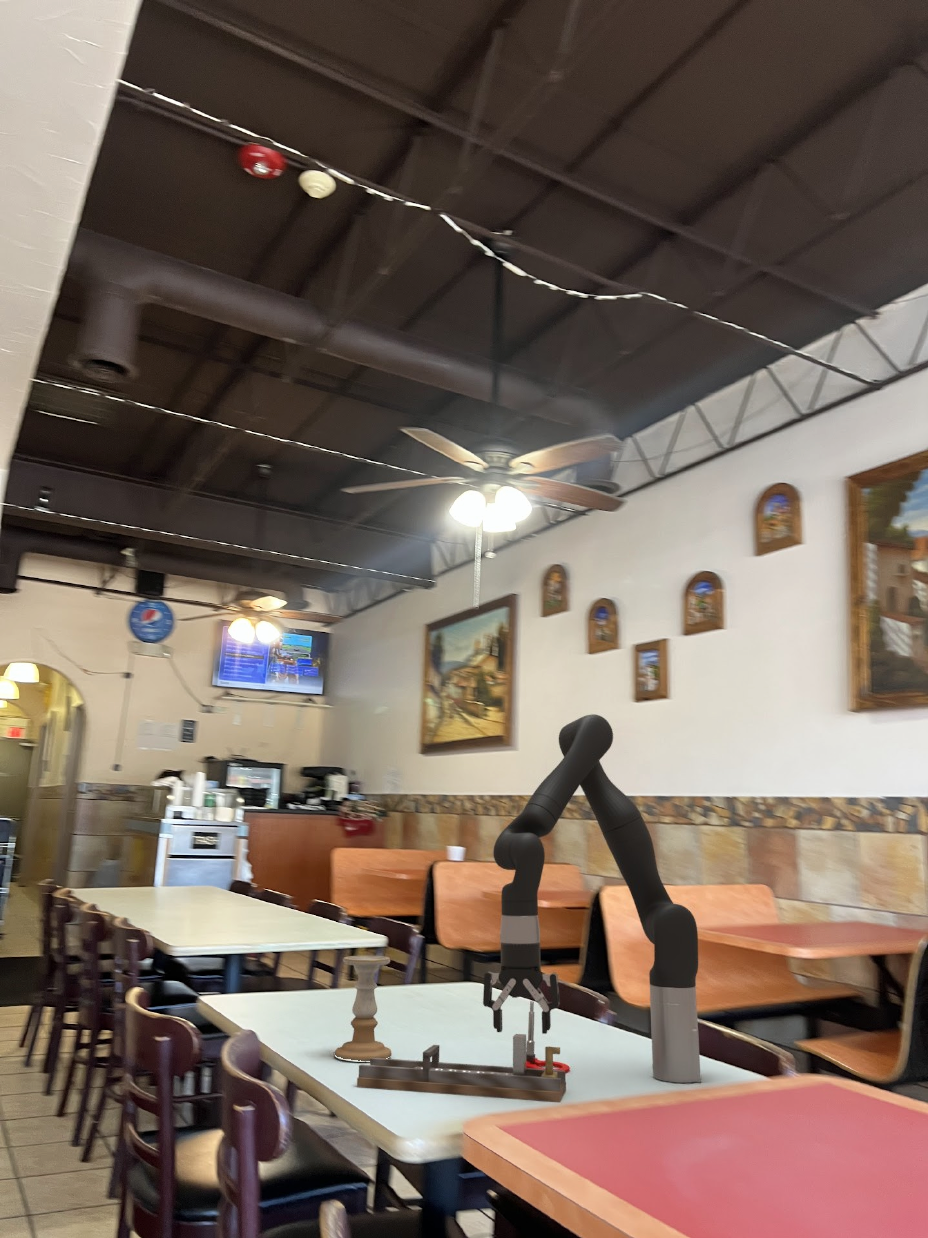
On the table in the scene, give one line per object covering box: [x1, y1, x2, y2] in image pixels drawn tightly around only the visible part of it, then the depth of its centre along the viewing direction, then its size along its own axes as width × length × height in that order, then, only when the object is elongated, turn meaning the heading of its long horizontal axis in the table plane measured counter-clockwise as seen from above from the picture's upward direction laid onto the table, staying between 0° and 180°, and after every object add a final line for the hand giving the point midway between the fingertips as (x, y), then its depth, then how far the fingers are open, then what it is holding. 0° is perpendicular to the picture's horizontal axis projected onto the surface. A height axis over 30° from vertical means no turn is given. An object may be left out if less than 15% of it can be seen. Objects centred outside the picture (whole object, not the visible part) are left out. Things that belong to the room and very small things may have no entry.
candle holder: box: [334, 955, 392, 1061], centre depth 195 cm, size 12×12×20 cm
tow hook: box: [526, 1000, 571, 1074], centre depth 185 cm, size 8×13×9 cm
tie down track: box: [356, 1044, 567, 1103], centre depth 167 cm, size 38×9×8 cm, turn 77°
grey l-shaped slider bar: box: [415, 1033, 527, 1076], centre depth 167 cm, size 21×3×8 cm, turn 77°
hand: (521, 1032), depth 166 cm, fingers open, 8 cm apart
